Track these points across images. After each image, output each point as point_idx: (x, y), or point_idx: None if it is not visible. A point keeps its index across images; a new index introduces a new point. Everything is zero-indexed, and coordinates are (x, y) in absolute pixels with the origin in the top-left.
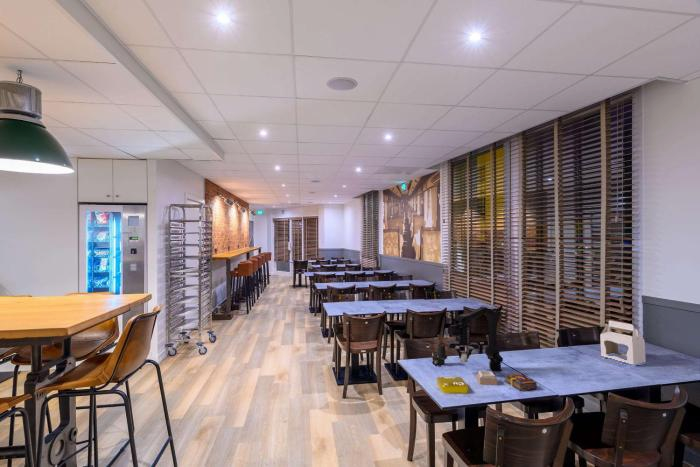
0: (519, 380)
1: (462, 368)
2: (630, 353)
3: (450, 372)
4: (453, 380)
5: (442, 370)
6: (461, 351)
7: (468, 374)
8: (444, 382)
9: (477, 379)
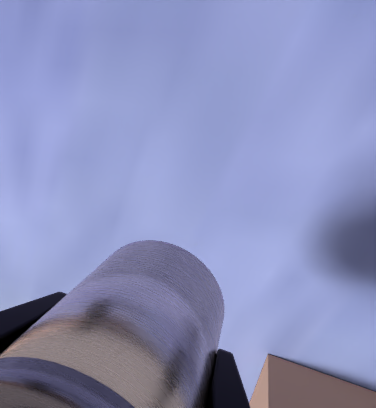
0: None
1: (284, 5)
2: None
3: (91, 140)
4: None
5: (28, 71)
6: None
7: (253, 224)
8: None
9: (261, 375)
